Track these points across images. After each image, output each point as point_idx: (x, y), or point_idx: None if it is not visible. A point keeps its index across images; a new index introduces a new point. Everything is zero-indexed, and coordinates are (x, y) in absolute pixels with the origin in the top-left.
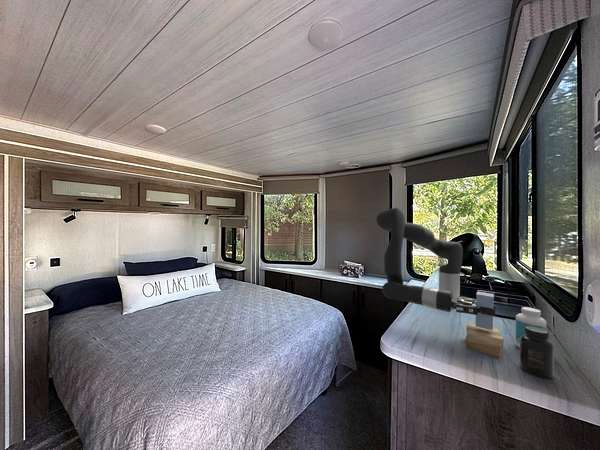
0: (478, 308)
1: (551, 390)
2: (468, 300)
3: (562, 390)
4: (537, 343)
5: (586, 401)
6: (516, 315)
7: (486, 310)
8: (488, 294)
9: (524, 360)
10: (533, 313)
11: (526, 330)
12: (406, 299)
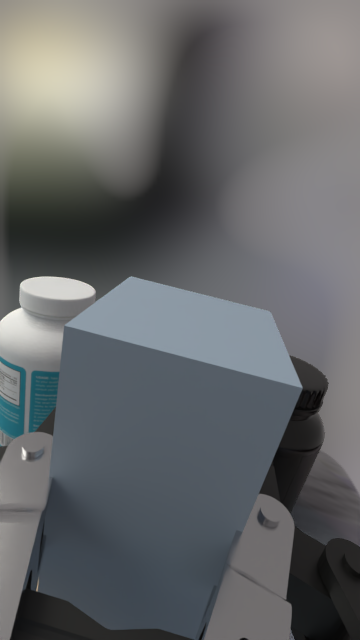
0: (303, 537)
1: (340, 507)
2: (22, 606)
3: (311, 480)
4: (320, 418)
5: (319, 456)
6: (24, 350)
7: (270, 473)
8: (183, 303)
9: (287, 509)
10: (93, 302)
11: (307, 400)
12: None
